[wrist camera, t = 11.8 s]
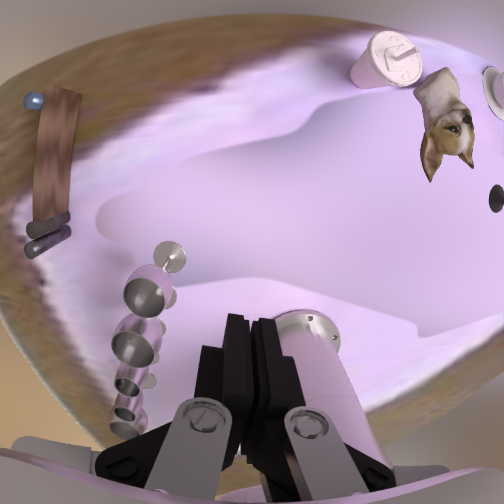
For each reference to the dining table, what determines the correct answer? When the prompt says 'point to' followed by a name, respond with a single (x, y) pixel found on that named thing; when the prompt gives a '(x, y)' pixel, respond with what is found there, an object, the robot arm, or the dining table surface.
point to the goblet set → (142, 337)
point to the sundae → (496, 198)
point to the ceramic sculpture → (444, 121)
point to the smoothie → (387, 62)
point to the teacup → (494, 90)
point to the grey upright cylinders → (58, 234)
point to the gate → (53, 160)
